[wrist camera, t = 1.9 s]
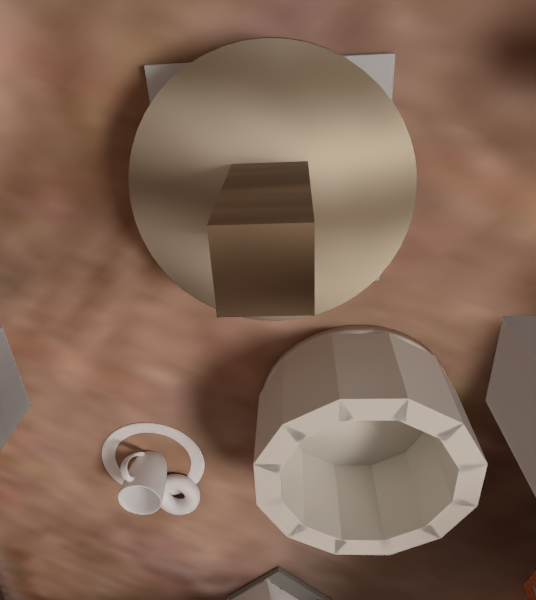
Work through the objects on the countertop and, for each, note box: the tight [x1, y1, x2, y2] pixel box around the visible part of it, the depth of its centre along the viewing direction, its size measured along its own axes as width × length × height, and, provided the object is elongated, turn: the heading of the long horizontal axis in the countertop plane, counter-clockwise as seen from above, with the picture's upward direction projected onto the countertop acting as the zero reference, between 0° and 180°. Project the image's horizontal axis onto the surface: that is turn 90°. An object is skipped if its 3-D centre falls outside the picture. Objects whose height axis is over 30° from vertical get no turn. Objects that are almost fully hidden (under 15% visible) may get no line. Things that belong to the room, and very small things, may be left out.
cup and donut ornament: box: [102, 423, 205, 515], centre depth 37 cm, size 9×8×4 cm
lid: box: [129, 37, 417, 321], centre depth 22 cm, size 14×14×11 cm
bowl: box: [253, 325, 488, 555], centre depth 32 cm, size 13×13×7 cm
